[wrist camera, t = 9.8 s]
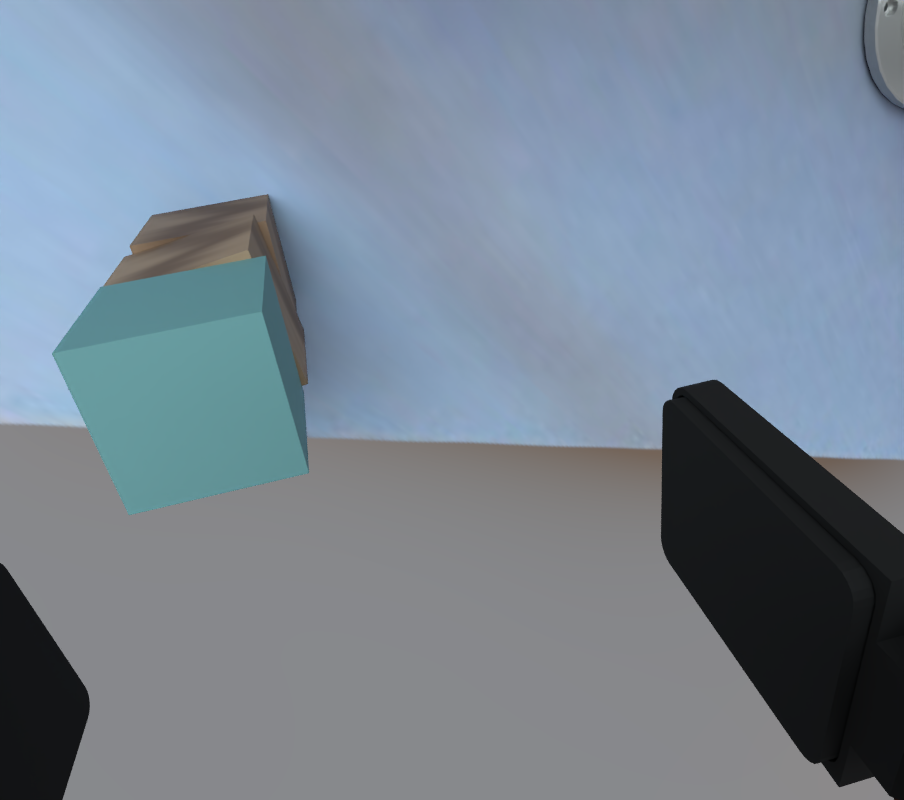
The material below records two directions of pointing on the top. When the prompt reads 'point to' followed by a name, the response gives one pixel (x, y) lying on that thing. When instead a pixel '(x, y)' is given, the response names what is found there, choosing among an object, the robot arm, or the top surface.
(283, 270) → the tower base
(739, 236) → the top surface
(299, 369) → the tower mid
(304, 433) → the teal block
